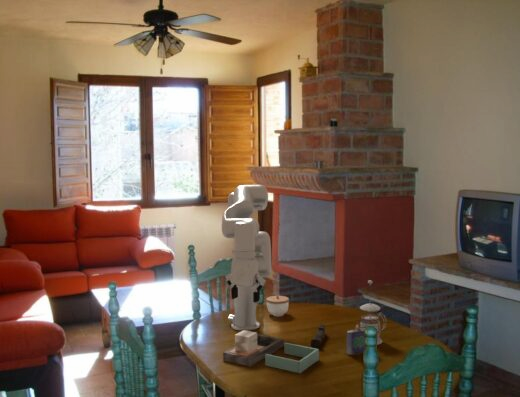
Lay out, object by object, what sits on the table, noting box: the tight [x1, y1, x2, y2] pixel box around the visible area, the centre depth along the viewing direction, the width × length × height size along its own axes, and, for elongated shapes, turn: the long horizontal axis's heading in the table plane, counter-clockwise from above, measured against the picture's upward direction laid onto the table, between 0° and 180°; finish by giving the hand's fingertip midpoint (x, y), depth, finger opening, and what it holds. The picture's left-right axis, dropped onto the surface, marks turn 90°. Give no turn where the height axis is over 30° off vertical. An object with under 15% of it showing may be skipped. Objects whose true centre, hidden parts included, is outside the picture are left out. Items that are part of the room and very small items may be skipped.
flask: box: [346, 324, 366, 356], centre depth 208 cm, size 9×3×11 cm, turn 109°
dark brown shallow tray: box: [222, 333, 285, 367], centre depth 210 cm, size 12×24×3 cm, turn 148°
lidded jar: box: [265, 294, 290, 317], centre depth 260 cm, size 11×11×9 cm
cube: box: [234, 330, 258, 353], centre depth 205 cm, size 6×6×6 cm
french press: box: [359, 279, 387, 346], centre depth 220 cm, size 10×12×25 cm
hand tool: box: [310, 324, 326, 349], centre depth 223 cm, size 19×4×5 cm, turn 162°
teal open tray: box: [264, 342, 320, 374], centre depth 200 cm, size 14×15×4 cm
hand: (245, 299), depth 204 cm, fingers open, 9 cm apart
